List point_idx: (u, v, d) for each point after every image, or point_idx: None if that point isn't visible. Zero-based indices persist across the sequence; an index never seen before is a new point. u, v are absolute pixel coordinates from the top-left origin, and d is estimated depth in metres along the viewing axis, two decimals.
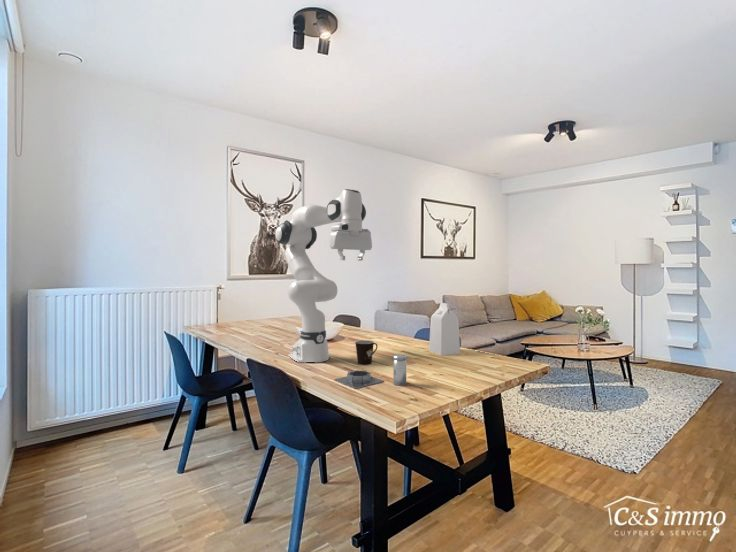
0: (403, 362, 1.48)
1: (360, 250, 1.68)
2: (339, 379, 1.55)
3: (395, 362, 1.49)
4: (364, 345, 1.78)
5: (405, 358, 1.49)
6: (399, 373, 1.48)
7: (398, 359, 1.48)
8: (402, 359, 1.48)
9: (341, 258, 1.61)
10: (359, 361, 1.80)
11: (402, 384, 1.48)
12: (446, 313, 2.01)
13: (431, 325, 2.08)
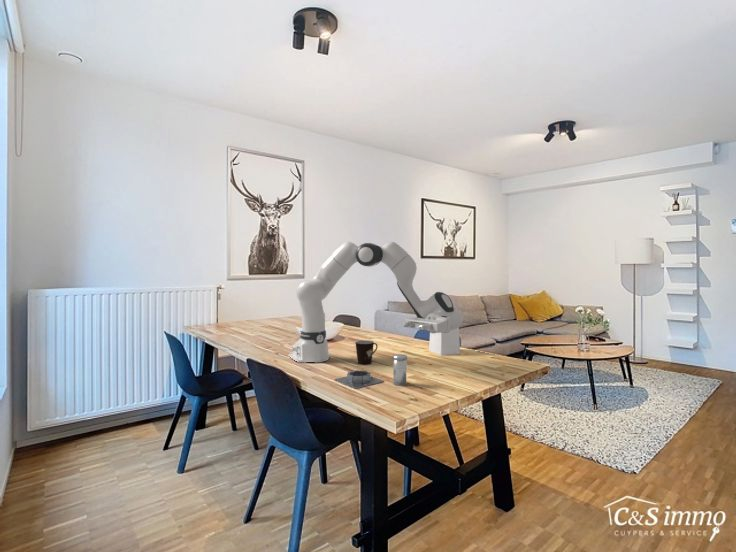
0: (403, 362, 1.48)
1: (411, 323, 1.68)
2: (339, 379, 1.55)
3: (395, 362, 1.49)
4: (364, 345, 1.78)
5: (405, 358, 1.49)
6: (399, 373, 1.48)
7: (398, 359, 1.48)
8: (402, 359, 1.48)
9: (423, 328, 1.58)
10: (359, 361, 1.80)
11: (402, 384, 1.48)
12: None
13: None
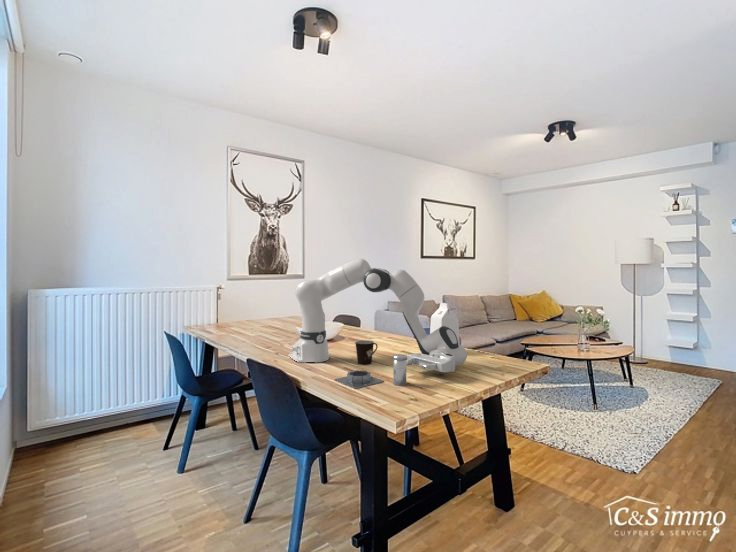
0: (403, 362, 1.48)
1: (414, 360, 1.63)
2: (339, 379, 1.55)
3: (395, 362, 1.49)
4: (364, 345, 1.78)
5: (405, 358, 1.49)
6: (399, 373, 1.48)
7: (398, 359, 1.48)
8: (402, 359, 1.48)
9: (427, 368, 1.53)
10: (359, 361, 1.80)
11: (402, 384, 1.48)
12: (446, 313, 2.01)
13: (431, 325, 2.08)
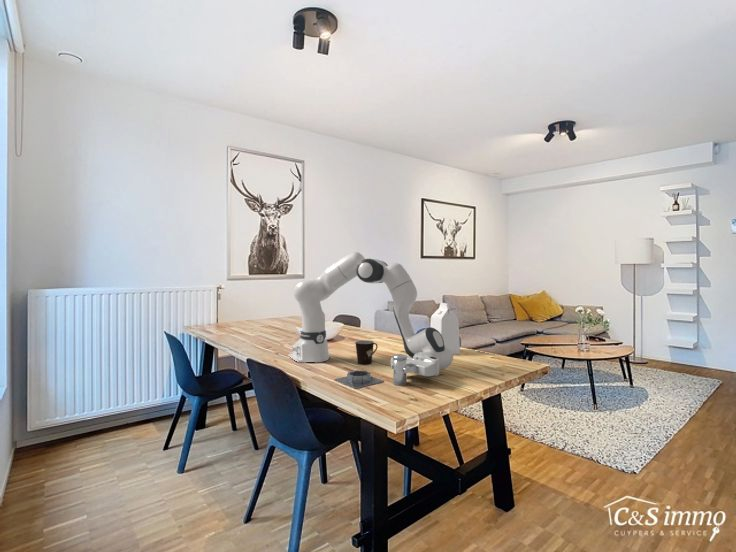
0: (403, 362, 1.48)
1: None
2: (339, 379, 1.55)
3: (395, 362, 1.49)
4: (364, 345, 1.78)
5: (405, 358, 1.49)
6: (399, 373, 1.48)
7: (398, 359, 1.48)
8: (402, 359, 1.48)
9: (406, 371, 1.47)
10: (359, 361, 1.80)
11: (402, 384, 1.48)
12: (446, 313, 2.01)
13: (431, 325, 2.08)
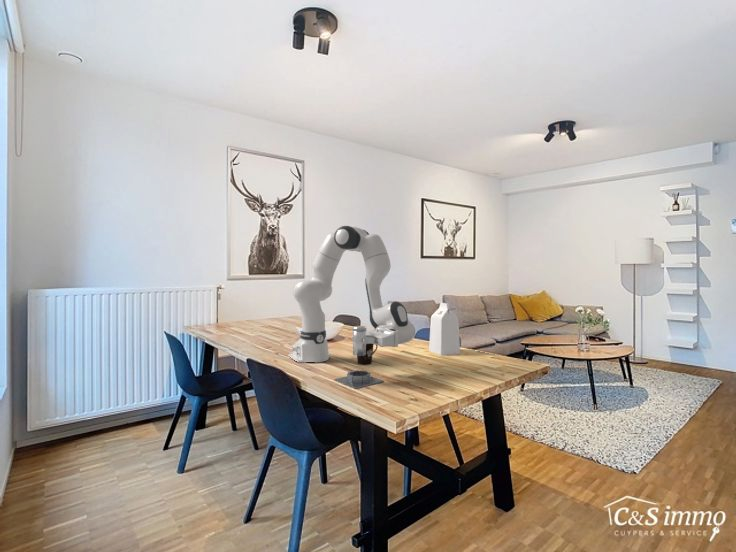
0: (362, 333, 1.52)
1: None
2: (339, 379, 1.55)
3: (354, 333, 1.52)
4: None
5: (364, 329, 1.52)
6: (358, 343, 1.52)
7: (357, 330, 1.51)
8: (361, 330, 1.51)
9: (365, 341, 1.51)
10: (359, 361, 1.80)
11: (361, 354, 1.52)
12: (446, 313, 2.01)
13: (431, 325, 2.08)
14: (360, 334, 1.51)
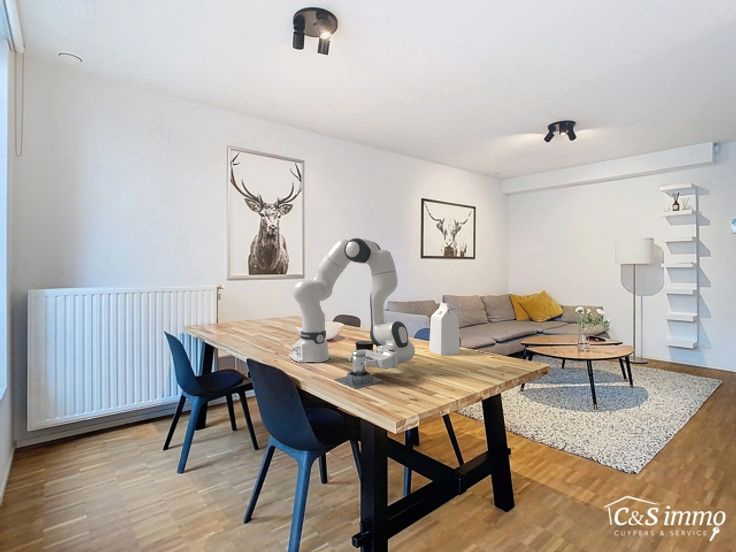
0: (361, 358, 1.52)
1: None
2: (339, 379, 1.55)
3: (354, 358, 1.53)
4: (364, 345, 1.78)
5: (363, 354, 1.52)
6: (357, 369, 1.52)
7: (356, 355, 1.52)
8: (360, 355, 1.52)
9: (367, 364, 1.50)
10: None
11: None
12: (446, 313, 2.01)
13: (431, 325, 2.08)
14: (359, 359, 1.52)
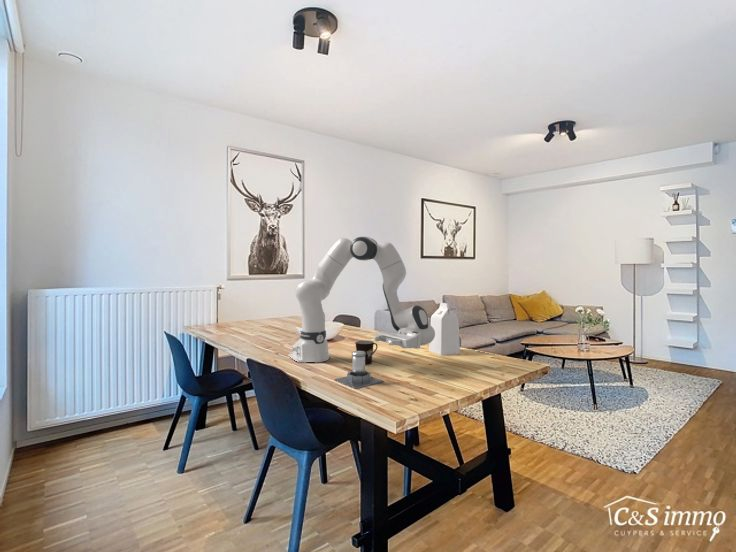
0: (361, 358, 1.52)
1: (382, 337, 1.70)
2: (339, 379, 1.55)
3: (353, 358, 1.52)
4: (364, 345, 1.78)
5: (363, 354, 1.52)
6: (357, 369, 1.52)
7: (356, 355, 1.52)
8: (360, 355, 1.52)
9: (392, 343, 1.59)
10: None
11: None
12: (446, 313, 2.01)
13: (431, 325, 2.08)
14: (359, 360, 1.52)
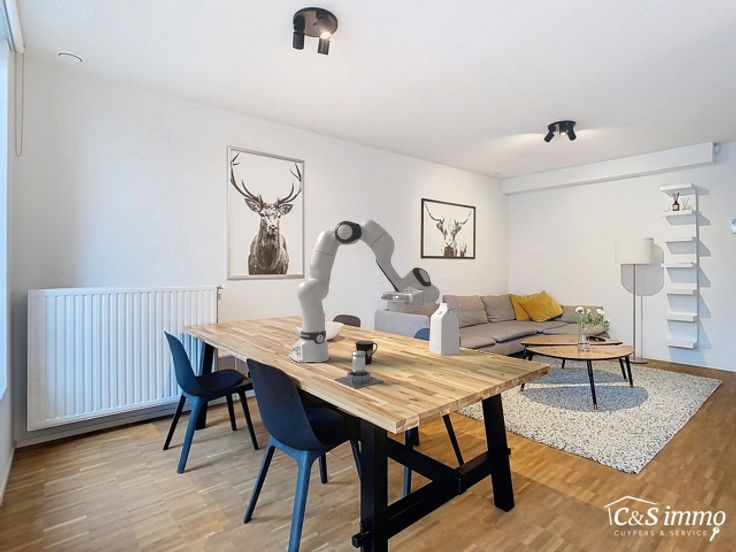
0: (361, 358, 1.52)
1: (388, 295, 1.73)
2: (339, 379, 1.55)
3: (353, 358, 1.52)
4: (364, 345, 1.78)
5: (363, 354, 1.52)
6: (357, 369, 1.52)
7: (356, 355, 1.52)
8: (360, 355, 1.52)
9: (399, 299, 1.63)
10: None
11: None
12: (446, 313, 2.01)
13: (431, 325, 2.08)
14: (359, 360, 1.52)
